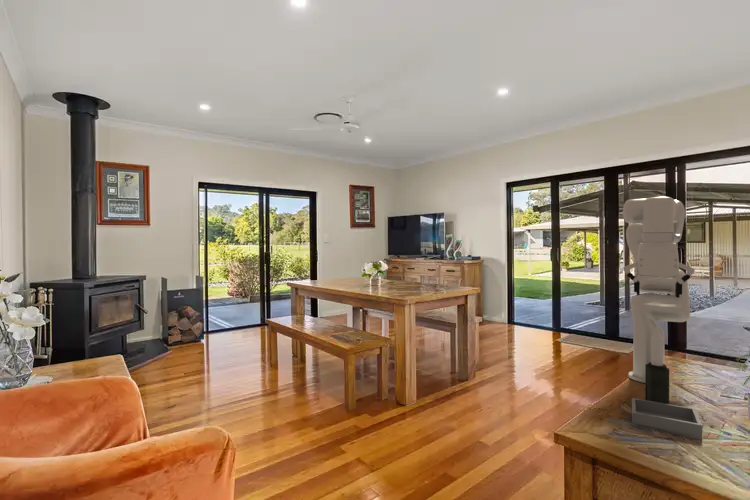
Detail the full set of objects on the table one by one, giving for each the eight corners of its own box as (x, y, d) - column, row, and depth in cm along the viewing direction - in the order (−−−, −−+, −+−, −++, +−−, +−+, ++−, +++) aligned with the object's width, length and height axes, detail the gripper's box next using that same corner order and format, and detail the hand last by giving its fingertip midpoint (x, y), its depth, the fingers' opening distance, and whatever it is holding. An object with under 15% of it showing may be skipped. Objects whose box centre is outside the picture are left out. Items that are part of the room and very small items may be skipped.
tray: (631, 410, 120) (631, 397, 119) (695, 422, 111) (695, 408, 111) (632, 425, 109) (632, 412, 109) (702, 440, 101) (702, 425, 101)
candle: (670, 412, 118) (671, 328, 118) (651, 410, 119) (652, 328, 119) (662, 405, 123) (662, 325, 123) (643, 403, 124) (644, 324, 124)
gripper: (693, 238, 116) (692, 295, 117) (623, 238, 125) (623, 292, 126) (696, 238, 110) (695, 299, 111) (623, 239, 119) (623, 295, 120)
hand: (657, 295), depth 118 cm, fingers open, 9 cm apart
